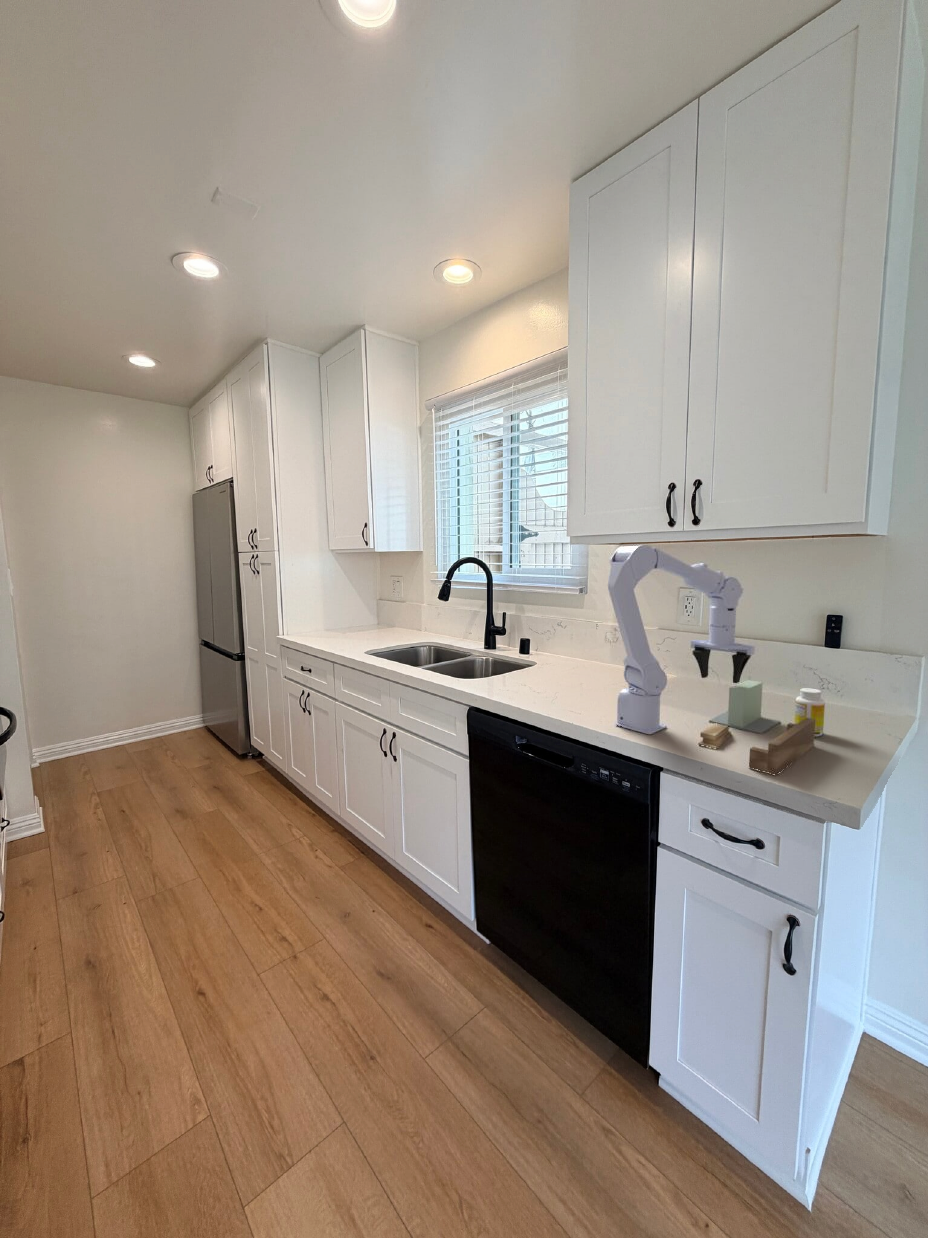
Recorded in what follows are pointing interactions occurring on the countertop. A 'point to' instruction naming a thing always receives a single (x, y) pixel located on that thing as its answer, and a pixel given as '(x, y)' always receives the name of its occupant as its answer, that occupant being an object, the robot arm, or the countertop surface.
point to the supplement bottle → (810, 708)
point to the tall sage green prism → (745, 703)
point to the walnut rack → (784, 748)
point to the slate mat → (756, 726)
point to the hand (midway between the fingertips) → (720, 679)
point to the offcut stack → (714, 735)
